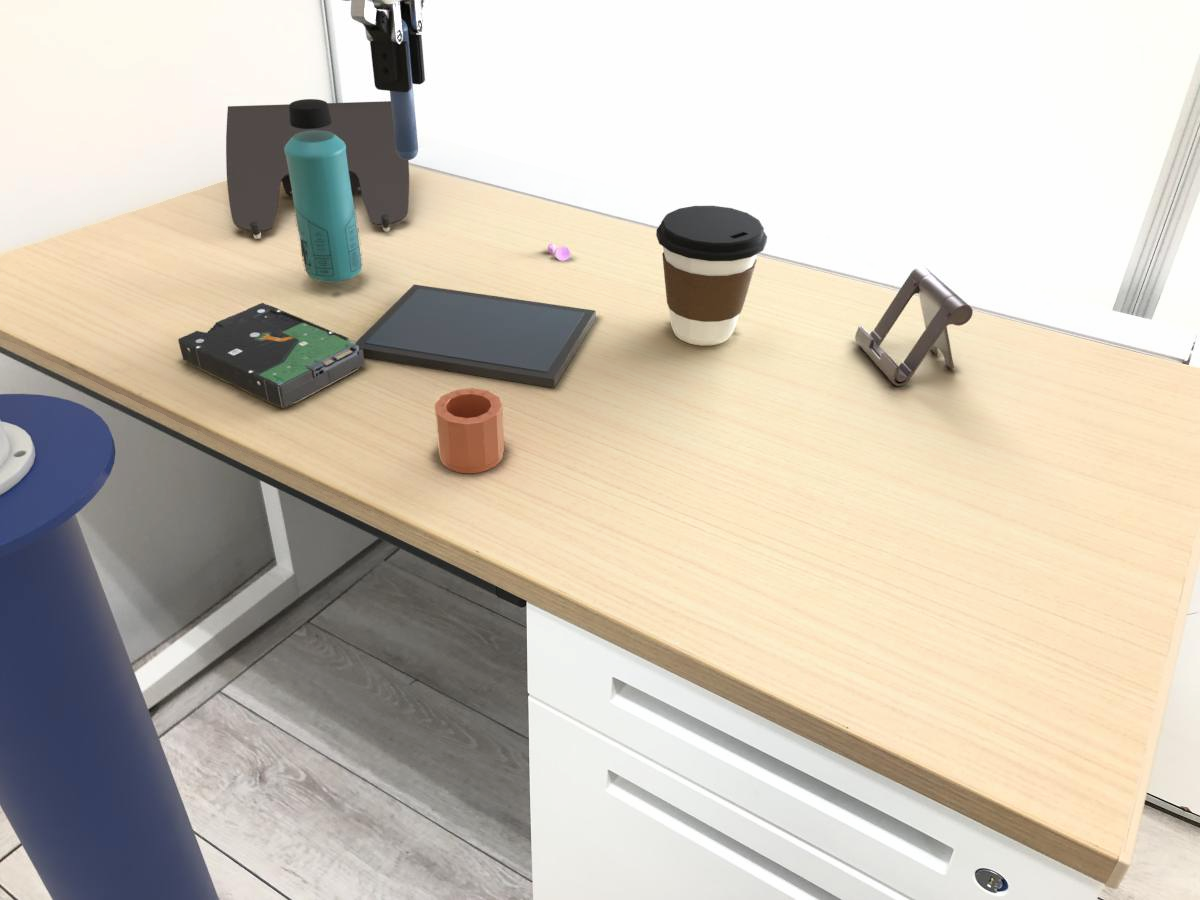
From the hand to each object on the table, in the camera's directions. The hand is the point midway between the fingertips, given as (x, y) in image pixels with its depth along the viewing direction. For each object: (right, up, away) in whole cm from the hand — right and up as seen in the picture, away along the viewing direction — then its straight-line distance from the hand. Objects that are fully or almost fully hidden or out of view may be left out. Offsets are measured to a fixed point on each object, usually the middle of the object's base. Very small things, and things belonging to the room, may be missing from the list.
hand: (400, 84), depth 83 cm
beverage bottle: (-13, -13, +26) cm, 31 cm away
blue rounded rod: (0, -5, +4) cm, 7 cm away
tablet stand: (+48, -23, +14) cm, 55 cm away
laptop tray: (-19, 0, +44) cm, 48 cm away
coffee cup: (+28, -19, +18) cm, 39 cm away
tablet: (+5, -20, +16) cm, 26 cm away
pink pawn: (+12, -8, +33) cm, 36 cm away
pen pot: (+6, -32, -1) cm, 33 cm away
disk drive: (-14, -24, +10) cm, 29 cm away
